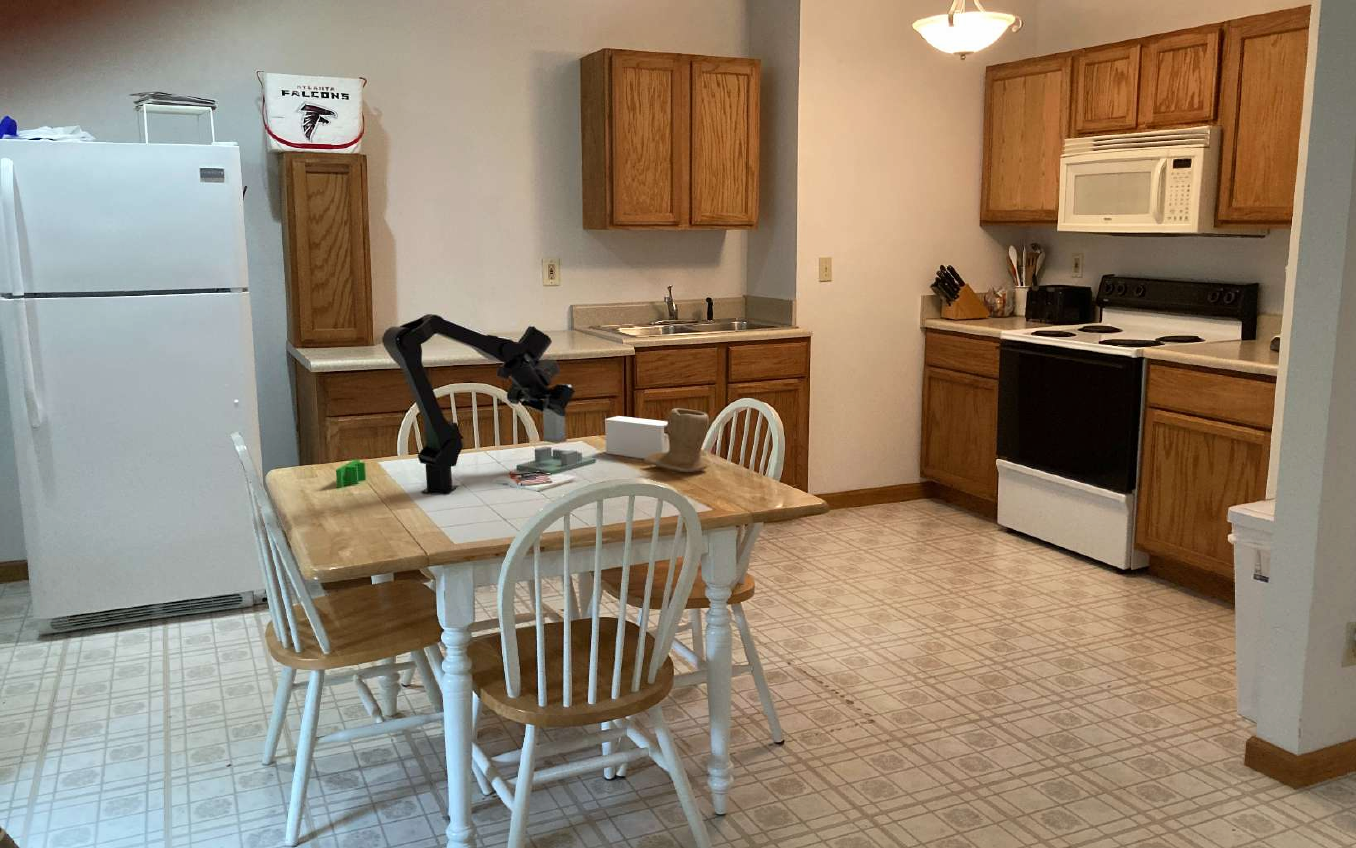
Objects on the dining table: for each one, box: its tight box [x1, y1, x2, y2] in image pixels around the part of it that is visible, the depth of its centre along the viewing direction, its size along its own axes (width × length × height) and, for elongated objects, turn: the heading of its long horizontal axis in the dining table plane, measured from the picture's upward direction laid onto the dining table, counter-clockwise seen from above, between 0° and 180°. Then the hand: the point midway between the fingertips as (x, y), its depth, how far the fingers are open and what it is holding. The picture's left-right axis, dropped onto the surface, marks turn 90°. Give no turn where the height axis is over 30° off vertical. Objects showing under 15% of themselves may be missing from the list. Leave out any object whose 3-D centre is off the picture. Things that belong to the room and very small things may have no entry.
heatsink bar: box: [542, 397, 567, 444], centre depth 272 cm, size 3×5×13 cm
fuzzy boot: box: [643, 407, 710, 473], centre depth 266 cm, size 15×12×15 cm
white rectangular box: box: [604, 415, 669, 460], centre depth 283 cm, size 20×6×9 cm, turn 53°
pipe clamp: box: [335, 459, 367, 489], centre depth 261 cm, size 11×4×5 cm, turn 173°
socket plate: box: [516, 446, 597, 475], centre depth 274 cm, size 16×12×4 cm
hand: (557, 414), depth 273 cm, fingers closed on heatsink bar, 4 cm apart
